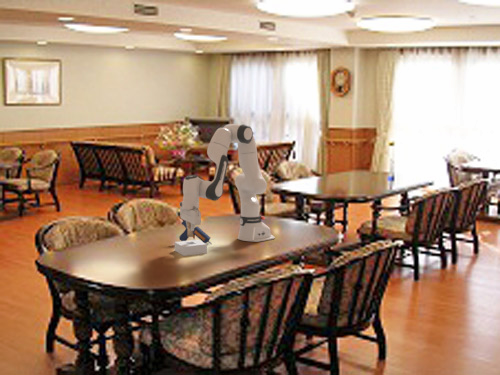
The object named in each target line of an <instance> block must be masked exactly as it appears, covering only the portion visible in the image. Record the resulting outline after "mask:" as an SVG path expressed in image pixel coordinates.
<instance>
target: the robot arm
mask: <svg viewBox="0 0 500 375" xmlns="http://www.w3.org/2000/svg"><path fill="white" fill-rule="evenodd" d="M256 142H257V141H256V139H255V136H254V132H253V129H252V127H251V126H250V125H248V124H245V123H243V124H242V123H225V124H223V125H221V126H220V127H219V128H217V129H216V130H215V132H214V134H213V135H212V137H211V139H210V141H209V143H208V146H207V148H206V149H207V151H206V154H207V156H208V158H209V159H210V161H212V162H213V163H215V165H216V169H215V173H214V177H213V180H212V181H209V180H205V179H202V178H200V177H199V176H198V175H197V174H190V175H186V176H185V177H184V179H183V184H182V193H183V197H182V201H180V202H179V216H180V217H181V220H182V219H183V220H185V221H186V225H187V229H188V222H190V223H191V227H190V230H191V231H194V228H195V227H196V226H199V225H201V223H202V213H201V211H200V209H199V208H200V198H203V199H205V200H207V199H208V200H210V201H213V202H215V201H218V200H219V199H221V197H222V196H223V193H224V192H223V191H224V184H225V179H226V175H227V170H228V166H229V158H228V152H229V149H230V146H231V144H237V153H238V162H239V163H238V165H239V167H240V169H241V171H242V173H239V174H237V175H236V177H235V179H234V185H235V187H236V188H237V192H238V194H239V195H238V196H239V200H240V215H239V230H238V231H239V232H238V236H237V239H238V240H240V241H243V242H245V241H246V242H255V243H257V242H258V243H260V242H263V241H269V240H274V239H275V235H273V234H272V232H271V228H270V227H269V226H268V225H267V224H266V223H264V222H263V221H264V220H266V217H265V216H261V215H260V202H259V199H258V198H257V195H263V194H264V193H265V192H266V190H267V188H268V183H267V180H266V179H265V178H264V176H263V174H262V171H261V168H260V165H259V158H258V149H257V143H256ZM183 220H182V221H183Z"/></svg>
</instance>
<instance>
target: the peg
mask: <svg viewBox="0 0 500 375" xmlns="http://www.w3.org/2000/svg"><path fill="white" fill-rule="evenodd" d="M190 227H191V223H190V222H188V230H187V236H188V237H189V238H193V231H191V230H190Z"/></svg>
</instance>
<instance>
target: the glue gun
mask: <svg viewBox="0 0 500 375" xmlns="http://www.w3.org/2000/svg"><path fill="white" fill-rule="evenodd" d="M178 218H179V219H181V217H180V215H179V216H178ZM181 221H182V222H181V225H182V226H184V228H185V230H184V231H183V232H182V233H181V234H180V236H179V237H178V238H179V240H180V241H188V240H189V238H190V237H188V236H187V230H188V229H187V225H186V221H185V220H183V219H181ZM195 237H197V238H198V240H200V241H202V242H204V243H205V244H207V243H208V244H210V245H212V243H211V241H210V239H211V236H209V235H208V234H207V233H206V232H205V231H203V230H202V229H201V228H200V227H199V225H196V226H195V227H194V231H193V237H192V238H193V240H196V238H195Z"/></svg>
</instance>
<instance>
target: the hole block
mask: <svg viewBox="0 0 500 375" xmlns="http://www.w3.org/2000/svg"><path fill="white" fill-rule="evenodd" d="M174 252H176V253H178V254H179V255H181V256H183V257H185V256H194V255H202V253H204V254H208V244H207V243H206V244H205V243H204V242H202V241H201V240H200V239H191V240H189V239H188V240H186V241H181V240H180V241H174Z"/></svg>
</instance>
